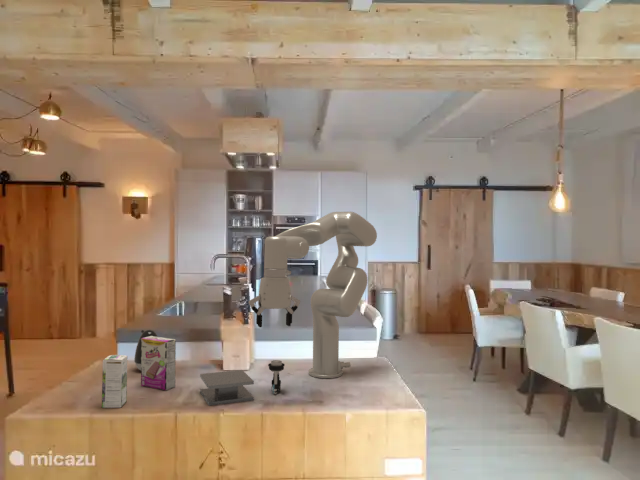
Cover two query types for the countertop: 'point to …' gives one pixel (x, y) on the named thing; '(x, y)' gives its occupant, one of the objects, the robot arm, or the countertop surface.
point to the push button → (276, 375)
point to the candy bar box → (158, 362)
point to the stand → (226, 387)
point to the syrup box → (114, 381)
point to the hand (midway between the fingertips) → (274, 326)
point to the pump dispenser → (138, 348)
